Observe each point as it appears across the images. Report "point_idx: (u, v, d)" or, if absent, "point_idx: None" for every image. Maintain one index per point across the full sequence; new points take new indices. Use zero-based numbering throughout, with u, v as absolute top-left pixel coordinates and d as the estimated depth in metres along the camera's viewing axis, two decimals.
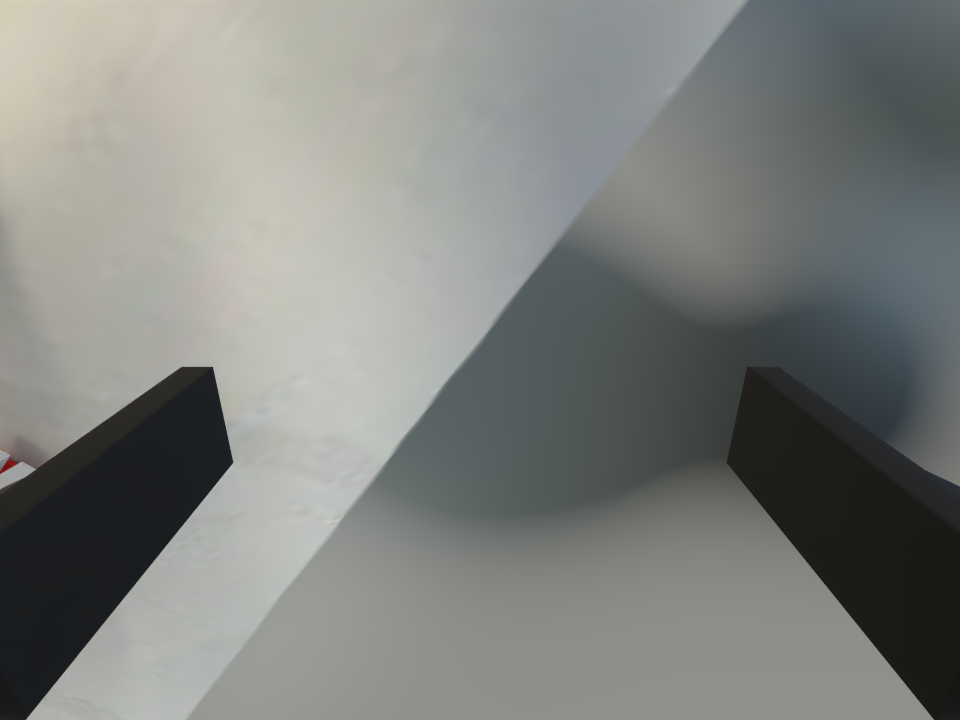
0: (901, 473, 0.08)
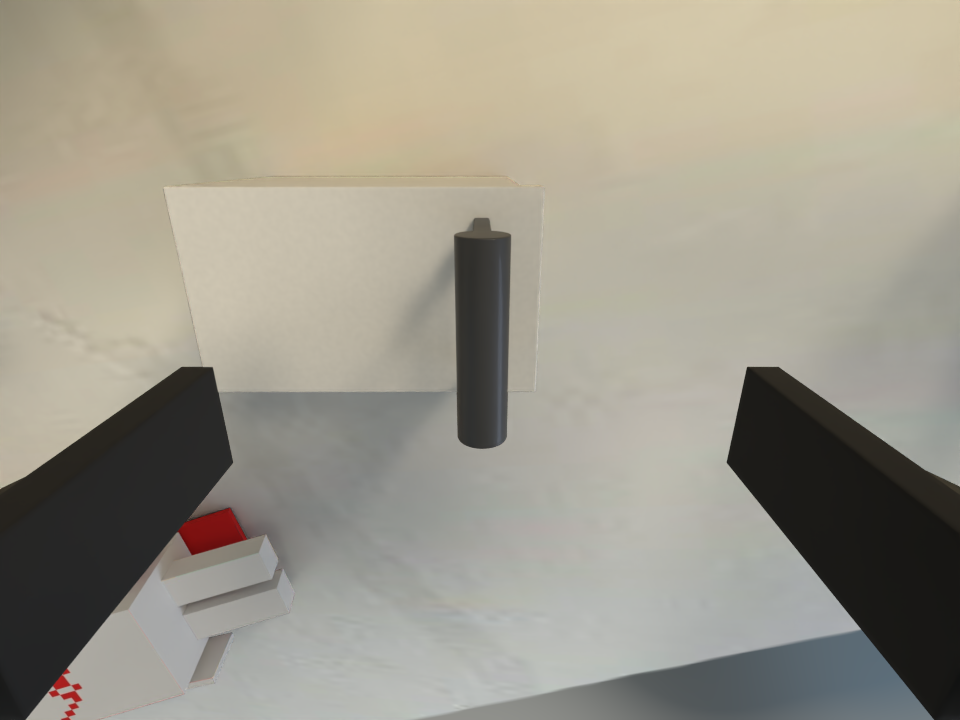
0: (901, 473, 0.08)
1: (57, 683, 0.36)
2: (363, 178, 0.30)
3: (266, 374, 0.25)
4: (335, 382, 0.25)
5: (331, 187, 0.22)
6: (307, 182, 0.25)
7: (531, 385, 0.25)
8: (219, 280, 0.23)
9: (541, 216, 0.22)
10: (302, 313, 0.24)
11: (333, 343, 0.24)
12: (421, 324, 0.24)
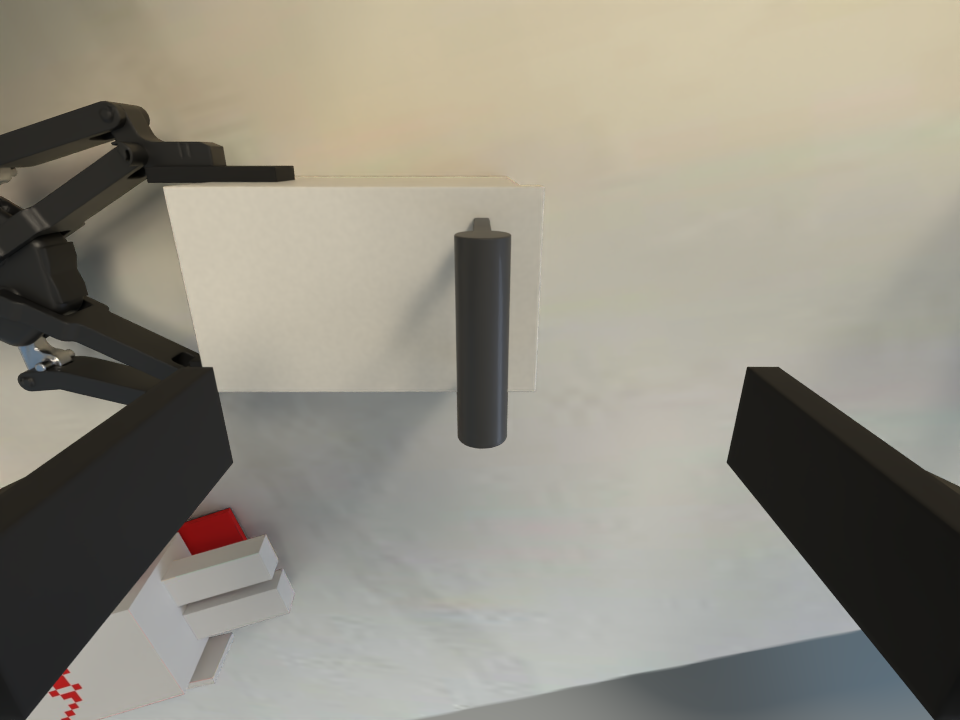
0: (901, 473, 0.08)
1: (57, 683, 0.36)
2: (363, 178, 0.30)
3: (266, 374, 0.25)
4: (335, 382, 0.25)
5: (331, 187, 0.22)
6: (307, 182, 0.25)
7: (531, 385, 0.25)
8: (219, 280, 0.23)
9: (541, 216, 0.22)
10: (302, 313, 0.24)
11: (333, 343, 0.24)
12: (421, 324, 0.24)
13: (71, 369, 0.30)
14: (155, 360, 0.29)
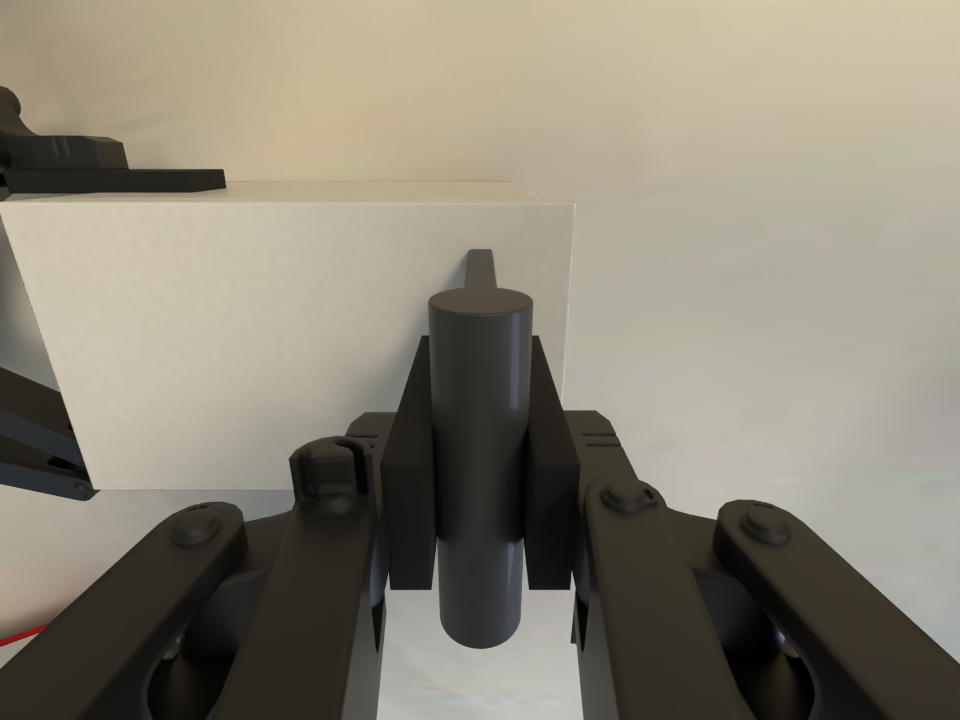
0: (540, 406, 0.10)
1: None
2: (323, 185, 0.23)
3: (174, 466, 0.18)
4: (272, 477, 0.18)
5: (252, 203, 0.14)
6: (233, 193, 0.18)
7: None
8: (95, 338, 0.16)
9: (570, 246, 0.15)
10: (220, 384, 0.16)
11: (267, 425, 0.17)
12: (393, 400, 0.17)
13: None
14: (42, 429, 0.22)
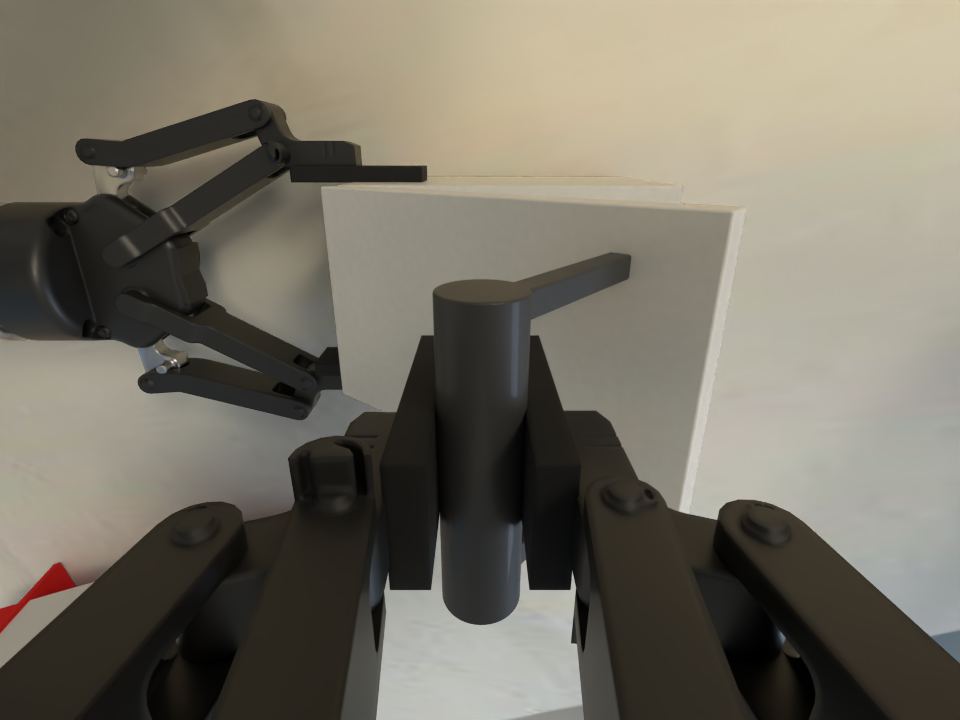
0: (540, 406, 0.10)
1: None
2: None
3: (382, 393, 0.23)
4: None
5: (447, 194, 0.17)
6: (453, 182, 0.25)
7: None
8: (353, 286, 0.22)
9: (721, 262, 0.12)
10: (413, 338, 0.21)
11: None
12: None
13: (191, 371, 0.30)
14: (279, 362, 0.29)
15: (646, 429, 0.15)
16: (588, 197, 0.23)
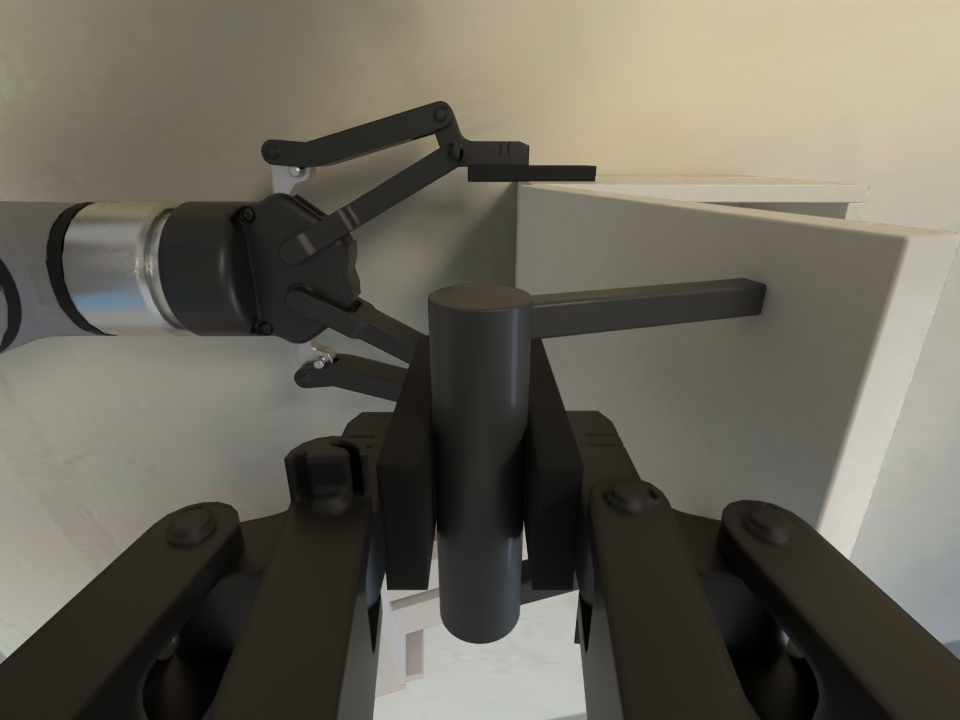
0: (542, 406, 0.10)
1: None
2: None
3: None
4: None
5: (604, 197, 0.16)
6: None
7: None
8: (530, 284, 0.22)
9: (880, 311, 0.08)
10: (565, 343, 0.20)
11: (577, 391, 0.19)
12: (647, 421, 0.15)
13: (344, 366, 0.30)
14: None
15: None
16: (775, 195, 0.23)
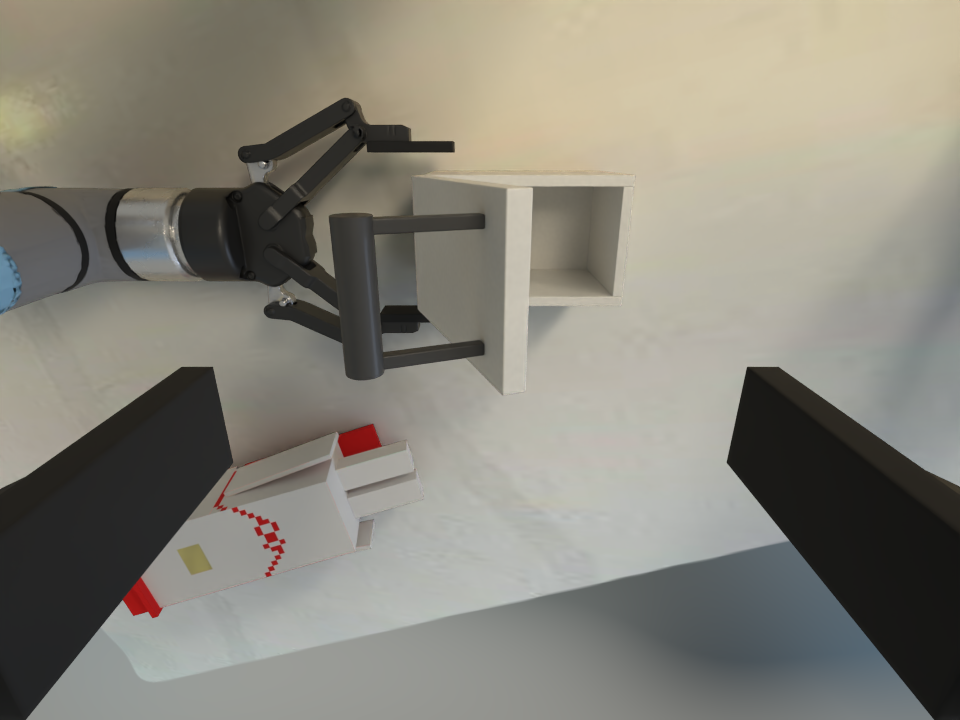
0: (901, 473, 0.08)
1: (269, 538, 0.49)
2: None
3: (427, 307, 0.36)
4: (442, 326, 0.33)
5: (442, 180, 0.29)
6: None
7: (500, 387, 0.25)
8: (419, 237, 0.36)
9: (505, 218, 0.22)
10: (435, 269, 0.33)
11: (441, 296, 0.33)
12: (464, 298, 0.29)
13: (300, 308, 0.44)
14: None
15: (492, 323, 0.25)
16: (576, 182, 0.37)
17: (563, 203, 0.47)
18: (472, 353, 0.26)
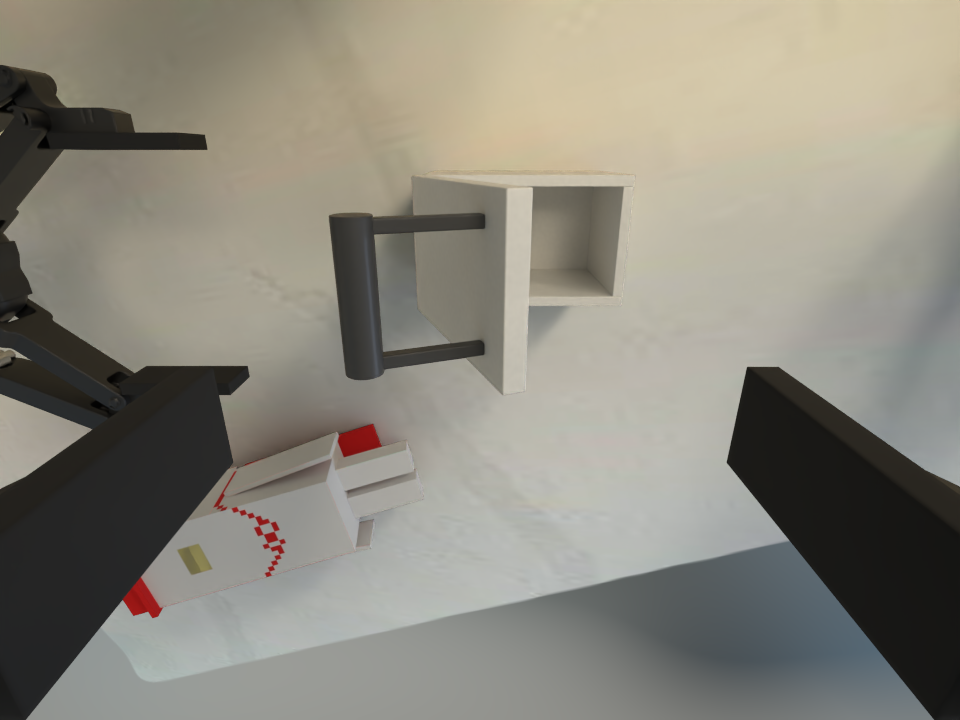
0: (901, 473, 0.08)
1: (269, 538, 0.49)
2: None
3: (427, 307, 0.36)
4: (442, 326, 0.33)
5: (442, 180, 0.29)
6: None
7: (500, 387, 0.25)
8: (419, 237, 0.36)
9: (505, 217, 0.22)
10: (435, 269, 0.33)
11: (441, 296, 0.33)
12: (463, 298, 0.29)
13: (9, 373, 0.31)
14: (89, 378, 0.30)
15: (492, 322, 0.25)
16: (576, 182, 0.37)
17: (563, 203, 0.47)
18: (472, 353, 0.26)
